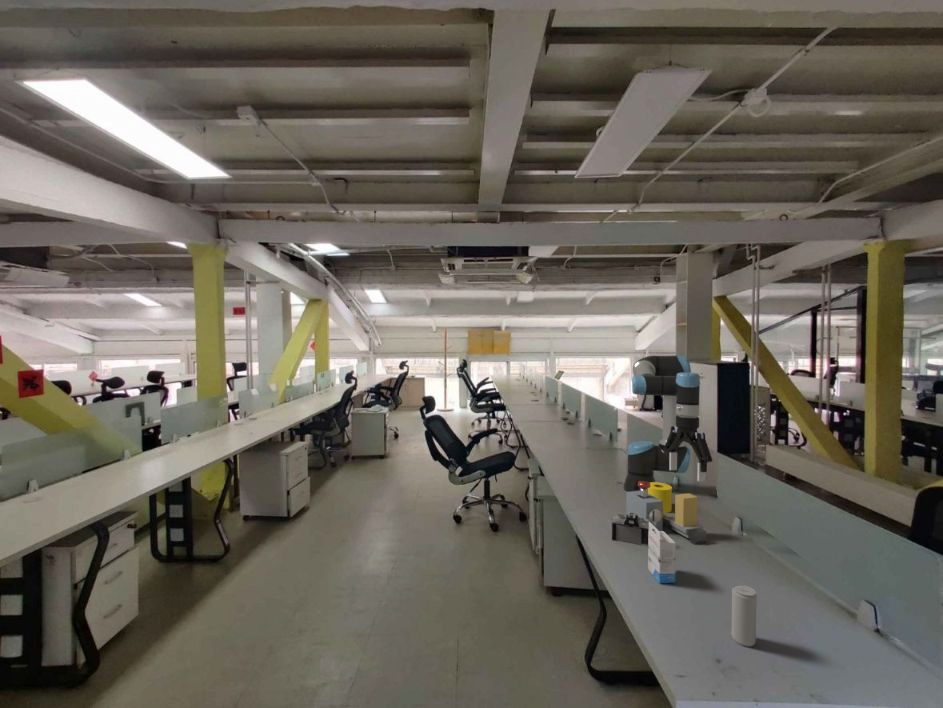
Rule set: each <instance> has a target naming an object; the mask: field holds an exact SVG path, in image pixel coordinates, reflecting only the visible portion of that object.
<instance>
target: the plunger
mask: <svg viewBox="0 0 943 708" xmlns="http://www.w3.org/2000/svg"><path fill="white" fill-rule="evenodd" d="M638 486H639V487H640V498H642V499H646V498H648V488H650V483H649V482H646V481H638Z"/></svg>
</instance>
